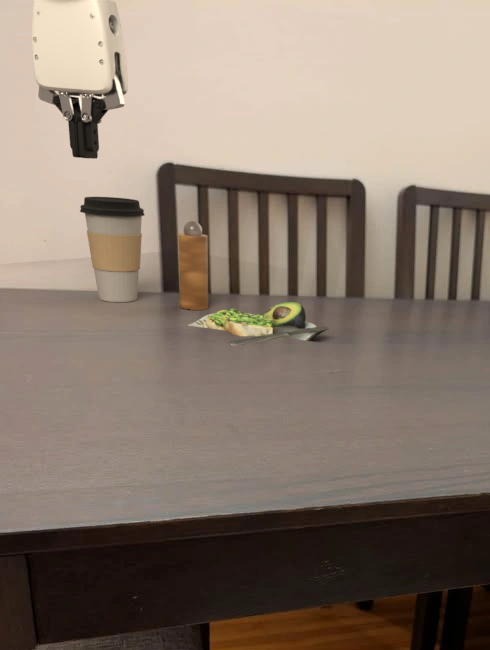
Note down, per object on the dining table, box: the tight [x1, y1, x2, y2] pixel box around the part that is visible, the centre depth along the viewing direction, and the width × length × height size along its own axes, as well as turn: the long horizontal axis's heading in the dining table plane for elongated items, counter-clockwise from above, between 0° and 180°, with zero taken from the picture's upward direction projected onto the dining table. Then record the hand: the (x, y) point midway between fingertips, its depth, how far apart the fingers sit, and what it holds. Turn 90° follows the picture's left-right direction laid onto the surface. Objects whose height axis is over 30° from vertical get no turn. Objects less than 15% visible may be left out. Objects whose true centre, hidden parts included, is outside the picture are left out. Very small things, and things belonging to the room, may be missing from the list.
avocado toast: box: [187, 301, 330, 347], centre depth 97 cm, size 19×18×5 cm
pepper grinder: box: [177, 220, 209, 311], centre depth 113 cm, size 4×4×13 cm
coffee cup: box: [79, 196, 145, 303], centre depth 114 cm, size 9×9×15 cm
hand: (85, 157), depth 91 cm, fingers closed
